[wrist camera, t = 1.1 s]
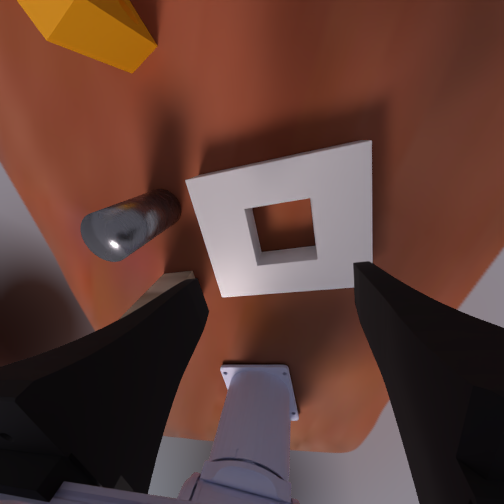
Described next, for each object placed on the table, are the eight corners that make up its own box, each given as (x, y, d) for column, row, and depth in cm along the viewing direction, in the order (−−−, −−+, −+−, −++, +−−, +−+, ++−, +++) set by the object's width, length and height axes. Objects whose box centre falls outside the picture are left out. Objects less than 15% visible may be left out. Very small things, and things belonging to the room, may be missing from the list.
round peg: (185, 222, 21) (138, 258, 14) (154, 227, 21) (96, 264, 15) (173, 185, 19) (115, 208, 13) (140, 192, 20) (71, 217, 14)
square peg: (202, 297, 24) (169, 352, 18) (174, 299, 25) (133, 353, 19) (192, 270, 23) (153, 320, 17) (163, 273, 24) (116, 322, 17)
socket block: (364, 269, 20) (372, 286, 17) (229, 281, 23) (222, 297, 20) (361, 140, 16) (371, 140, 14) (198, 175, 19) (184, 180, 16)
